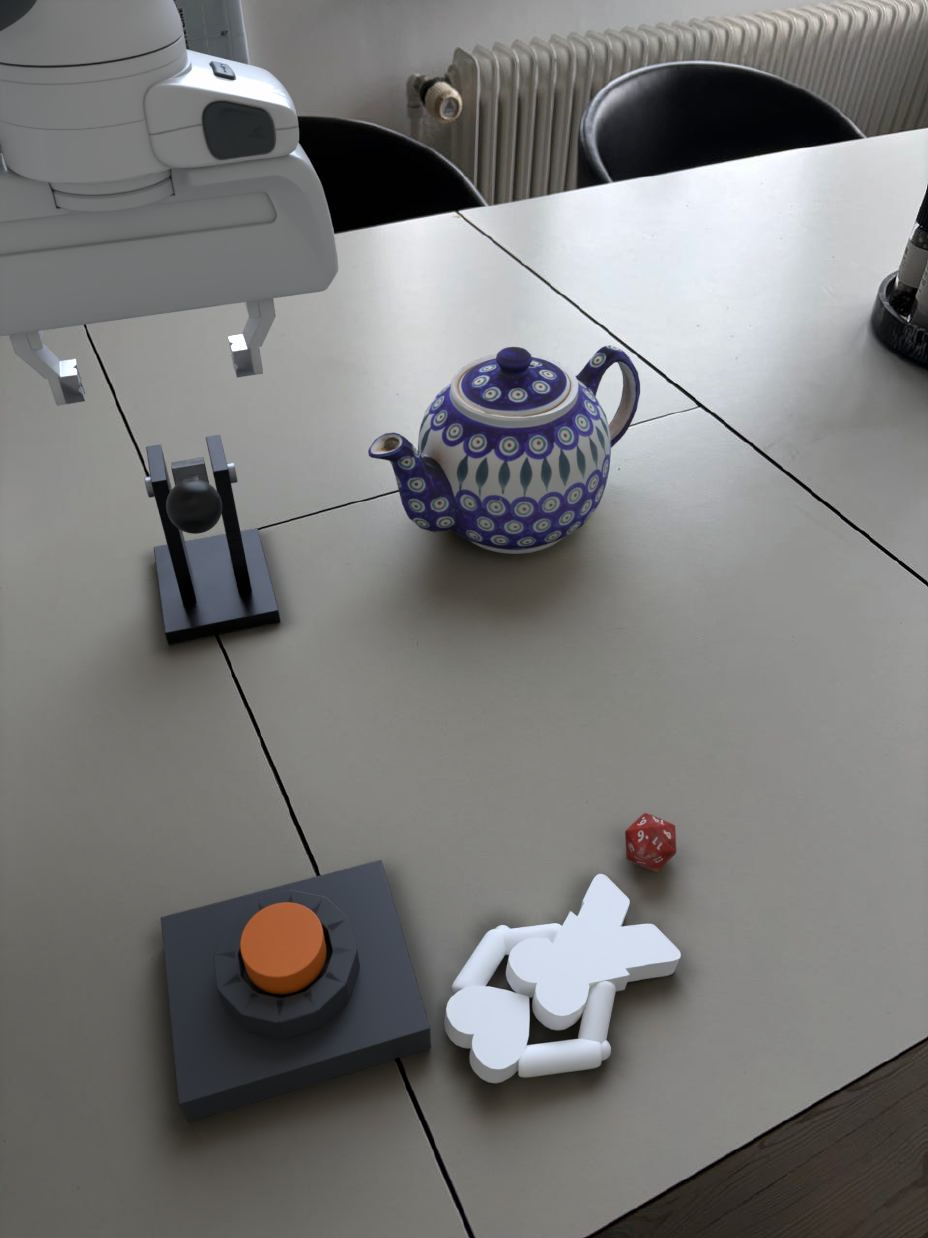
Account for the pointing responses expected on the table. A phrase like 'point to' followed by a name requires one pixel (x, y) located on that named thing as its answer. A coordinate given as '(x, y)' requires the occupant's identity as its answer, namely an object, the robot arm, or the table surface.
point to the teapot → (512, 450)
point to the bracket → (209, 563)
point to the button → (283, 948)
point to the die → (650, 842)
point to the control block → (289, 995)
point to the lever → (193, 498)
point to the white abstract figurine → (553, 987)
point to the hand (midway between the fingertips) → (161, 384)
